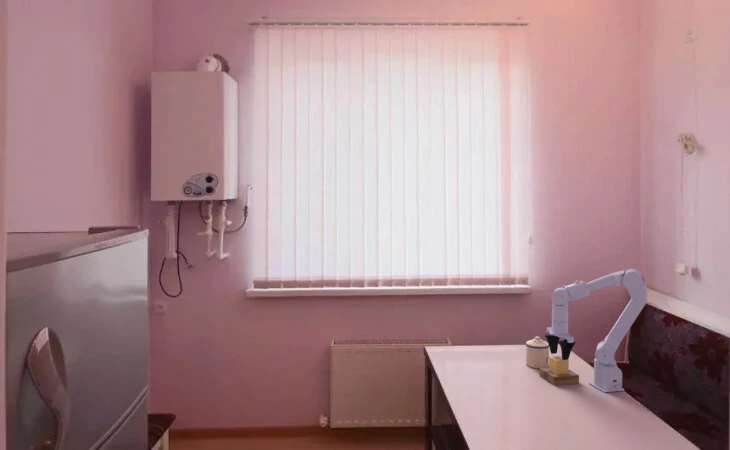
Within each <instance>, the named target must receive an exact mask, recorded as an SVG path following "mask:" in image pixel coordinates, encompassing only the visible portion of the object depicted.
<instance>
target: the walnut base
mask: <svg viewBox="0 0 730 450" xmlns="http://www.w3.org/2000/svg"><path fill="white" fill-rule="evenodd" d="M539 377H541V378H542V379H544V380H545V381H547V382H549V384H551V385H552V386H562V385H573V384H580V375H579V374H578V373H576V372H574V371H573V370H570V369H569V371H568V374H557V375H556V374H555V373H553V372H551V371H550V370H549V367H546V368H539Z"/></svg>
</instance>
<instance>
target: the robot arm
mask: <svg viewBox="0 0 730 450" xmlns="http://www.w3.org/2000/svg"><path fill="white" fill-rule="evenodd" d="M612 285H613V286H616V287H622V285H623V286H624V287H625V289H626V290H627V291H628V294H629V296H630V299H629V301H628V303H627V305H626V306H625V308H624V309H623V311H622V312H621V314H620V315H619V317H618V319H617V320H616V322H615V323H614V325H613V327H612V328H611V329H610V330H609V332H608V334H607V335H606V336H605V338H604V339H603V340H602V341H600V342H598V343H597V345H596V350H595V352H594V357H595V358H594V359H593V360H594V362H593V381H588V385H591V386H592V387H595V388H597V389H598V390H599V391H602V392H603V393H613V392H622V391H625V389H624V388H623V371H622V370H621V368H619V367H618V365H617V361H616V359H615V354H616V351H617V350H618V348H619V347H620V344H621V342H622V341H623V340H624V338H625V336H626V335H627V333H628V331H629V330H630V329H631V327H632V325H633V324H634V322H635V321H636V319H637V318H638V316H639V315H640V313H641V312H642V310H643V309H644V307H645V306H646V304H647V303H648V295H647V286H646V280H645V277H644V275H643V273H642V272H641V270H639V269H637V268H633V267H631V268H628V269H626V270H624V269H623V270H619V271H615V272H612V273H609V274H606V275H604V276H601V277H598V278H596V279H594V280H591V281H589V282H588V281H587V282H586V281H584V280H575V281H574V282H573V283H572V284H568V285H565V284H564V285H562V286H561V287H557V288H556V289H555V290H554V291H553V292H552V293H551V296H550V298H551V301H552V304H551V306H552V307H551V327H546V334H544V336H545V339H546V342H547V343H548V344H549V351H550V352H549V353H550V354H552V355H553V354H554V355H555V354H557V353H558V347H559V346H560V351H561V352H560V353H561V356H562V360H569V358H570V354H571V353H572V350H573V348H574V347H575V345H576V341H575V340H574V336H572V335H571V333H570V332H569V302H570V301H571V302H573V301H576V300H580V299H582V298H585V297H588V296H590V293H591V292H593V291H594V290H599V289H602V288H606V287H609V286H612ZM560 339H561V340H560Z"/></svg>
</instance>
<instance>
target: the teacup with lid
mask: <svg viewBox="0 0 730 450" xmlns="http://www.w3.org/2000/svg"><path fill="white" fill-rule="evenodd" d="M525 346H526V349H525V354H526V355H525V364H526V366H527V367H529V368H532V369H540V368H549V357H550V355H549V353H550V352H549V351H550V347H549V344H548V341H546V340H543V339H541V337H540V336H534V338H533V339H530V340H527V341H526V342H525Z"/></svg>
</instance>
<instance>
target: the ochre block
mask: <svg viewBox="0 0 730 450" xmlns="http://www.w3.org/2000/svg"><path fill="white" fill-rule="evenodd" d="M569 363H570V361H569V359H568V360H562V355H560V356H549V360H548V368H549V370H550V371H551V372H553V373H555V374H556V375H557V374H568V371H569V370H570V369H569V366H570V364H569Z"/></svg>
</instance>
